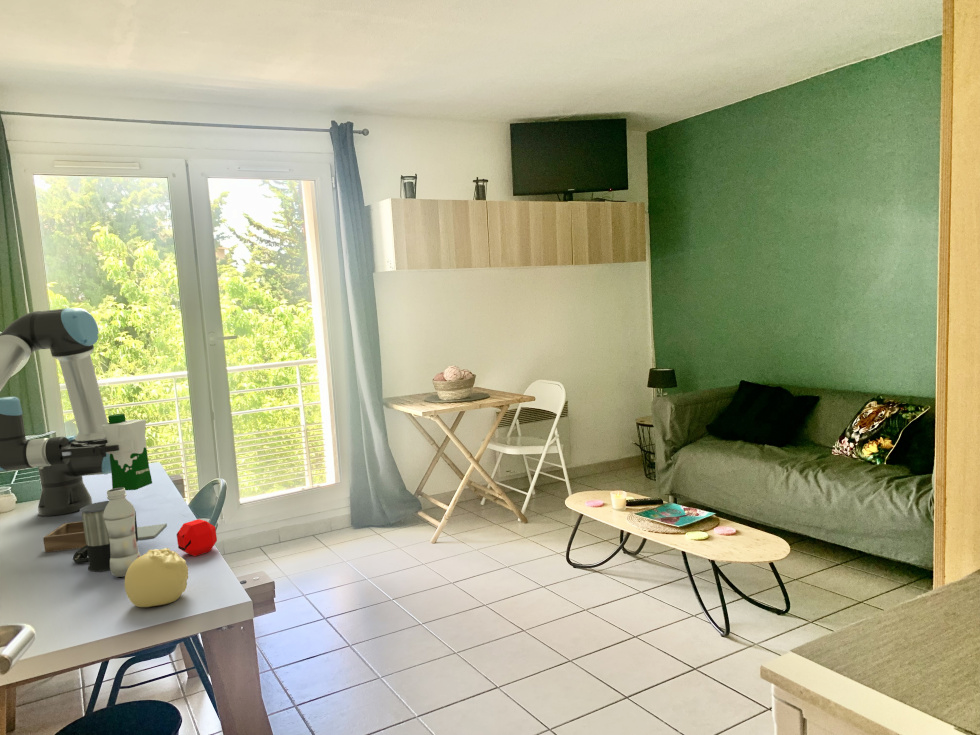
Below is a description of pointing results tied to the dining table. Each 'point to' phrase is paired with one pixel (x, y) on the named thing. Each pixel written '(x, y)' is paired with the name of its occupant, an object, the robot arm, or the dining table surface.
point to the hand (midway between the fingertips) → (138, 442)
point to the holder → (65, 537)
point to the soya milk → (128, 453)
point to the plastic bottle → (120, 531)
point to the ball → (196, 537)
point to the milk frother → (96, 538)
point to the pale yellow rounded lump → (156, 578)
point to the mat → (149, 531)
